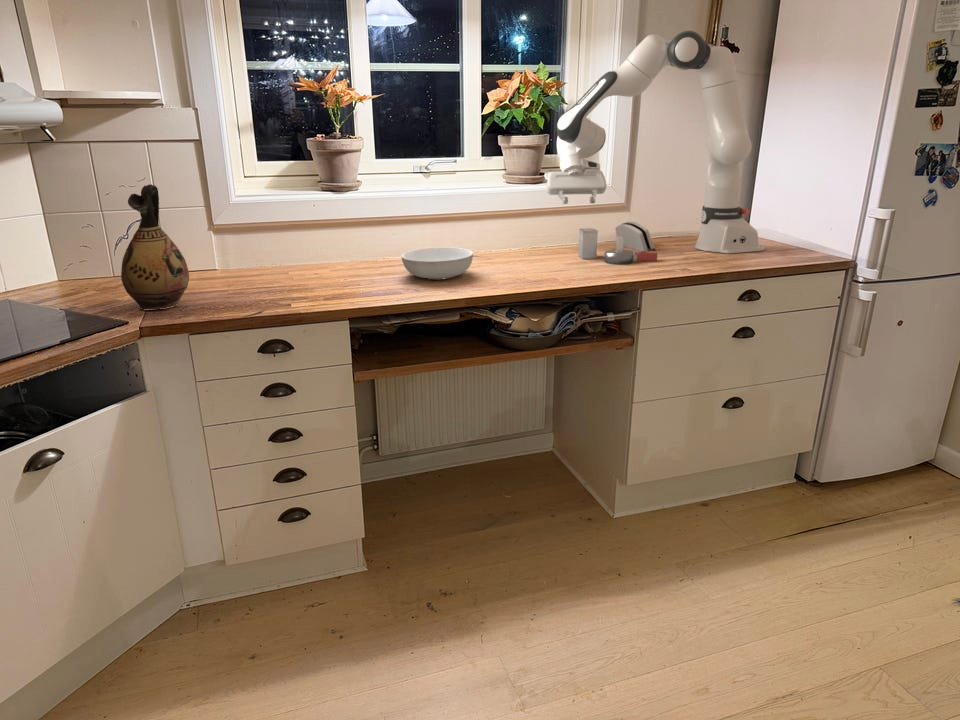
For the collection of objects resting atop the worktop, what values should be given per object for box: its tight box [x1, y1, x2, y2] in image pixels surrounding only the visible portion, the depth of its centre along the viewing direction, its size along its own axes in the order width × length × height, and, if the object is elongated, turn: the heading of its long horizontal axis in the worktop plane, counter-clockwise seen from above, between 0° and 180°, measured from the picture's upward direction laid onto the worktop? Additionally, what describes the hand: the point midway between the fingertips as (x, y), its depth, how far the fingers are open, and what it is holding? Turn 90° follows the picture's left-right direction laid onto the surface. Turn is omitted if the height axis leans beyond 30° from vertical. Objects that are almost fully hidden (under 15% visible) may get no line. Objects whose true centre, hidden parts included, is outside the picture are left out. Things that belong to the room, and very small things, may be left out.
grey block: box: [578, 227, 599, 260], centre depth 221 cm, size 5×5×9 cm
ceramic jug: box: [120, 183, 190, 309], centre depth 169 cm, size 17×15×30 cm
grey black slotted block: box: [614, 221, 658, 252], centre depth 235 cm, size 17×5×10 cm, turn 22°
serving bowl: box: [401, 246, 474, 280], centre depth 199 cm, size 21×21×7 cm
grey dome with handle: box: [603, 236, 659, 265], centre depth 215 cm, size 16×9×8 cm, turn 97°
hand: (579, 202), depth 228 cm, fingers open, 8 cm apart
